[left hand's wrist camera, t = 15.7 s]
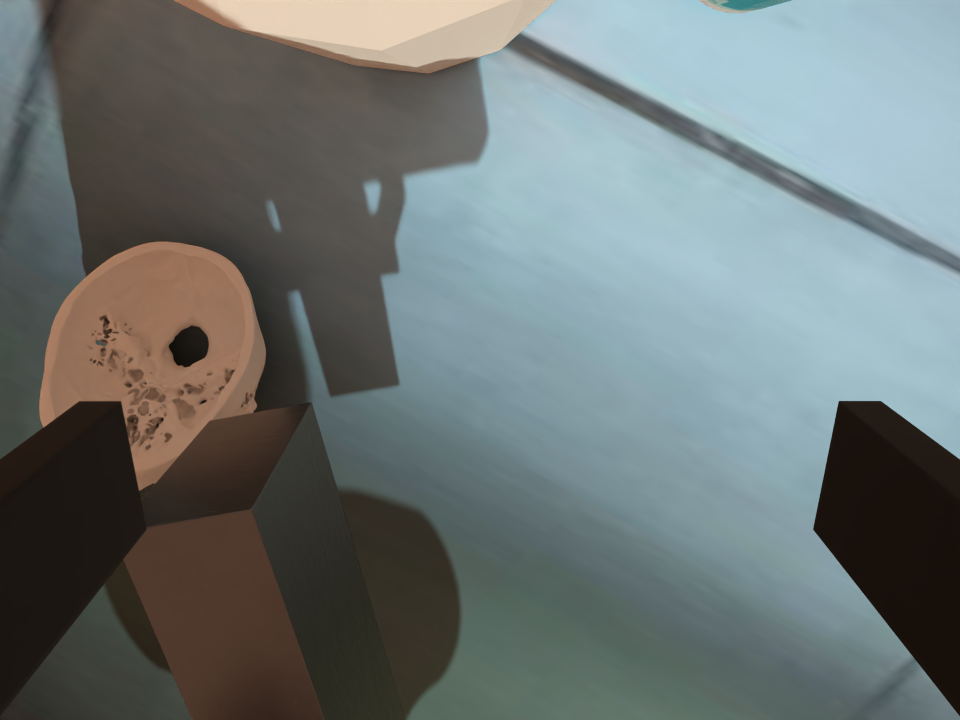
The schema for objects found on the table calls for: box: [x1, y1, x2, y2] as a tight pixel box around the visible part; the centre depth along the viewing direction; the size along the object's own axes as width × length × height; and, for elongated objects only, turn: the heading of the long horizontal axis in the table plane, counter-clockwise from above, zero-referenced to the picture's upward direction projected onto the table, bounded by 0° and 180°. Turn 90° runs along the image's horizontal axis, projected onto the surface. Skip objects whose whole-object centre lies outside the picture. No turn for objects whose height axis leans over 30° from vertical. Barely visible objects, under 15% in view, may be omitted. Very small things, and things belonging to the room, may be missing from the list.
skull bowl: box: [39, 241, 266, 491], centre depth 41 cm, size 10×14×12 cm
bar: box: [123, 403, 405, 720], centre depth 30 cm, size 25×5×9 cm, turn 11°
